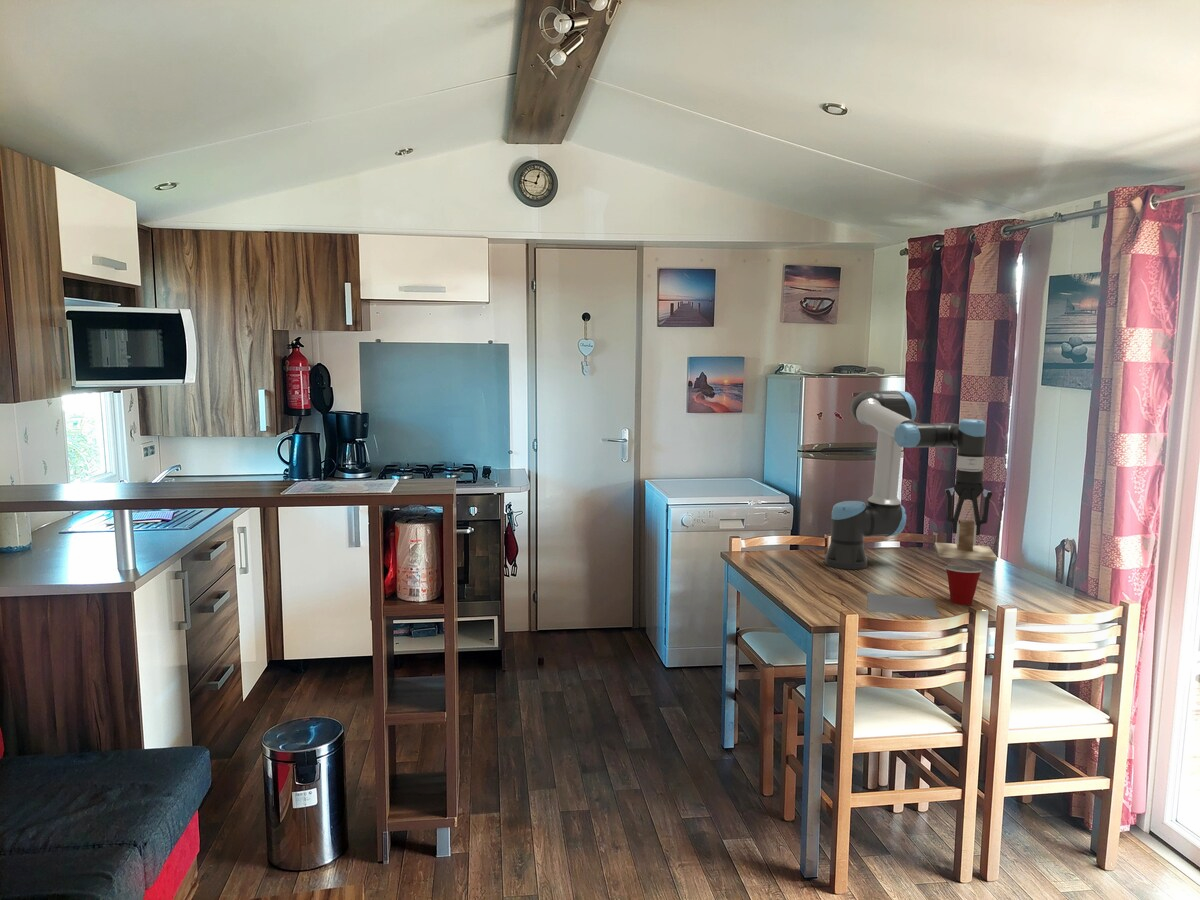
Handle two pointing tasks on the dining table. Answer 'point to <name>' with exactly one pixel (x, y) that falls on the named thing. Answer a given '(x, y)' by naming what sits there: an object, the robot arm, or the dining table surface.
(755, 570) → the dining table surface
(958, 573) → the plastic cup
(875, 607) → the mat
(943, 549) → the lid
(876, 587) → the dining table surface
